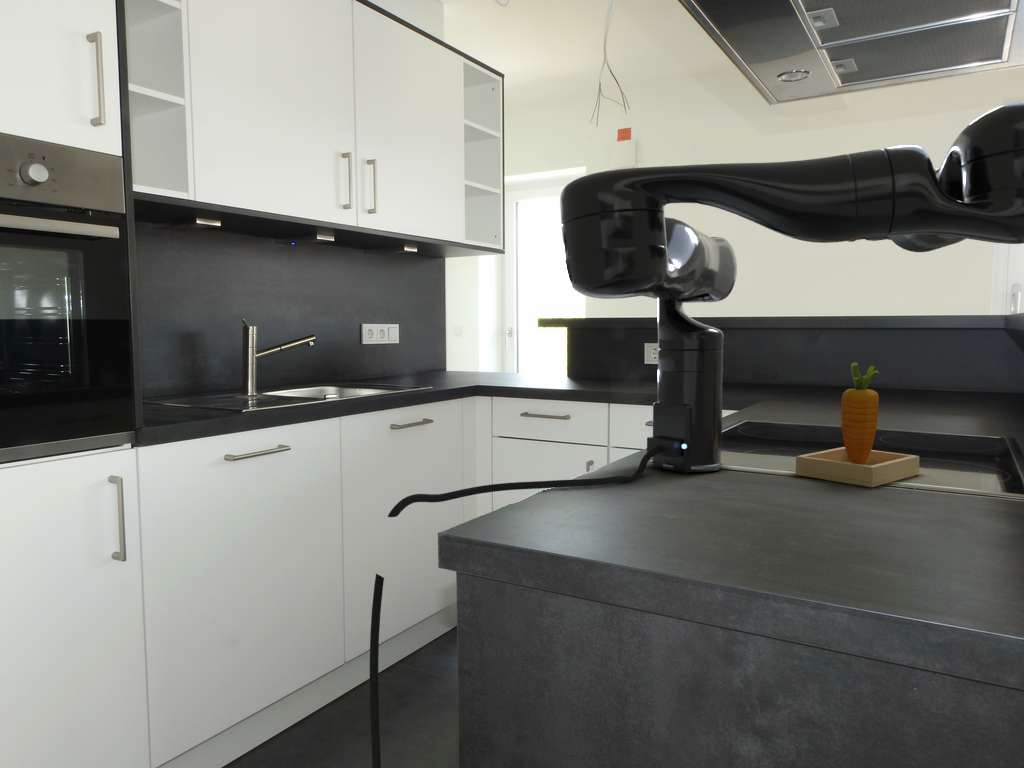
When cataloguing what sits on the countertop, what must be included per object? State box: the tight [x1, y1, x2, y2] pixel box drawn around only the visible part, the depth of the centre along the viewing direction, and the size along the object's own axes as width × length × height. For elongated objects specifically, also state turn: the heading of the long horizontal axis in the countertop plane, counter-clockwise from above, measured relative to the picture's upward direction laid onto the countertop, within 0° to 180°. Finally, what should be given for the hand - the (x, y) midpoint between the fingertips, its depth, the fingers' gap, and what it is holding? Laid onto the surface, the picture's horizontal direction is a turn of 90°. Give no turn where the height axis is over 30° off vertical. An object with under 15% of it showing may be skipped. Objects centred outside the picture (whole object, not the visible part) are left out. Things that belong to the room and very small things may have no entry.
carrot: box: [840, 362, 880, 465], centre depth 99 cm, size 5×5×15 cm
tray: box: [795, 446, 920, 488], centre depth 100 cm, size 14×11×3 cm
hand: (887, 232), depth 88 cm, fingers open, 8 cm apart
